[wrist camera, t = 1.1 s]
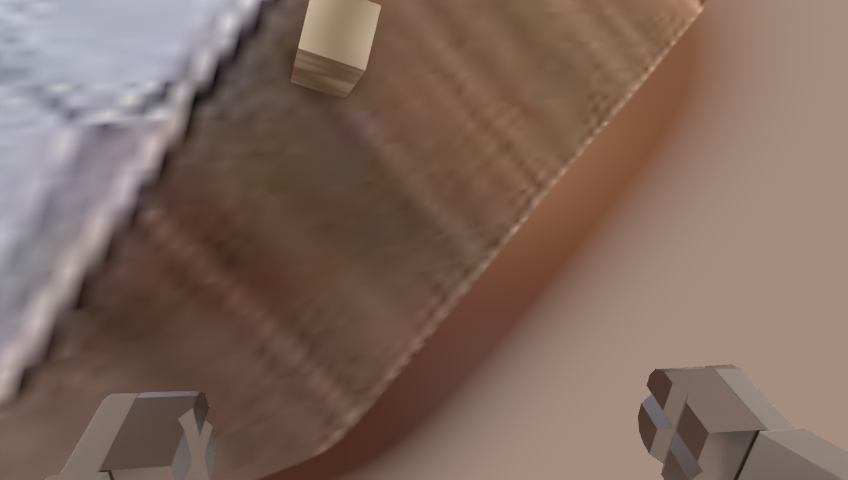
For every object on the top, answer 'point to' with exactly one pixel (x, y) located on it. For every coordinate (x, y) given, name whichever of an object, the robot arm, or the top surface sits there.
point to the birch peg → (335, 45)
